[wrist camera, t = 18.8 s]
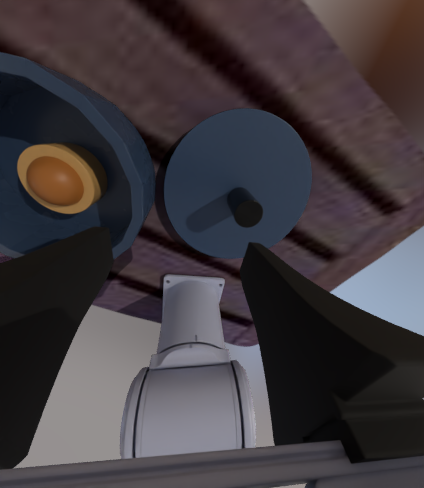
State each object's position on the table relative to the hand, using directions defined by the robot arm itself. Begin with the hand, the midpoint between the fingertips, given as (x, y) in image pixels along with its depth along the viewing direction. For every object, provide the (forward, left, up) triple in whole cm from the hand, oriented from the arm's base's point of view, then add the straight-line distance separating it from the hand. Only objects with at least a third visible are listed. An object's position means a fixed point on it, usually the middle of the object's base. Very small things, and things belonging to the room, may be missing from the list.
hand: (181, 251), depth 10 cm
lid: (+1, -5, -10) cm, 11 cm away
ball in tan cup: (0, +10, -10) cm, 14 cm away
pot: (0, +10, -10) cm, 14 cm away
